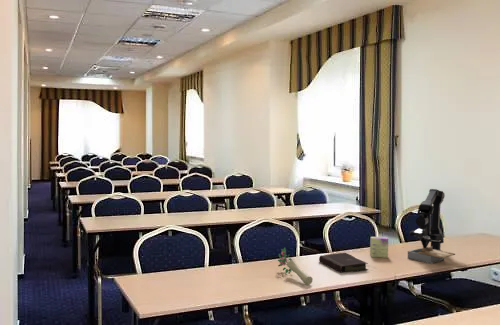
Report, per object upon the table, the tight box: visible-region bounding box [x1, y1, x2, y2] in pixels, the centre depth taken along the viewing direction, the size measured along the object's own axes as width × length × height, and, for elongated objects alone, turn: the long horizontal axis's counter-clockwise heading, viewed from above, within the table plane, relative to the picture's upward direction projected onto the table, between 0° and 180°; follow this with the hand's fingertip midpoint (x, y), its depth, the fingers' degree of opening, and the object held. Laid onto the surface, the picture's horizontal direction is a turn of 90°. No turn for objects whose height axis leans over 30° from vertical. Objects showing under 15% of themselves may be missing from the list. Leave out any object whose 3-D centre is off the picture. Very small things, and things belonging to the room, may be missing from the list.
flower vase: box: [277, 246, 313, 286], centre depth 277 cm, size 12×12×35 cm
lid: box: [418, 245, 456, 259], centre depth 310 cm, size 14×16×3 cm
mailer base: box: [407, 247, 445, 265], centre depth 316 cm, size 14×16×4 cm
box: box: [369, 236, 389, 258], centre depth 322 cm, size 10×6×12 cm, turn 84°
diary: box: [318, 252, 369, 274], centre depth 298 cm, size 19×25×5 cm
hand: (424, 249), depth 316 cm, fingers closed
